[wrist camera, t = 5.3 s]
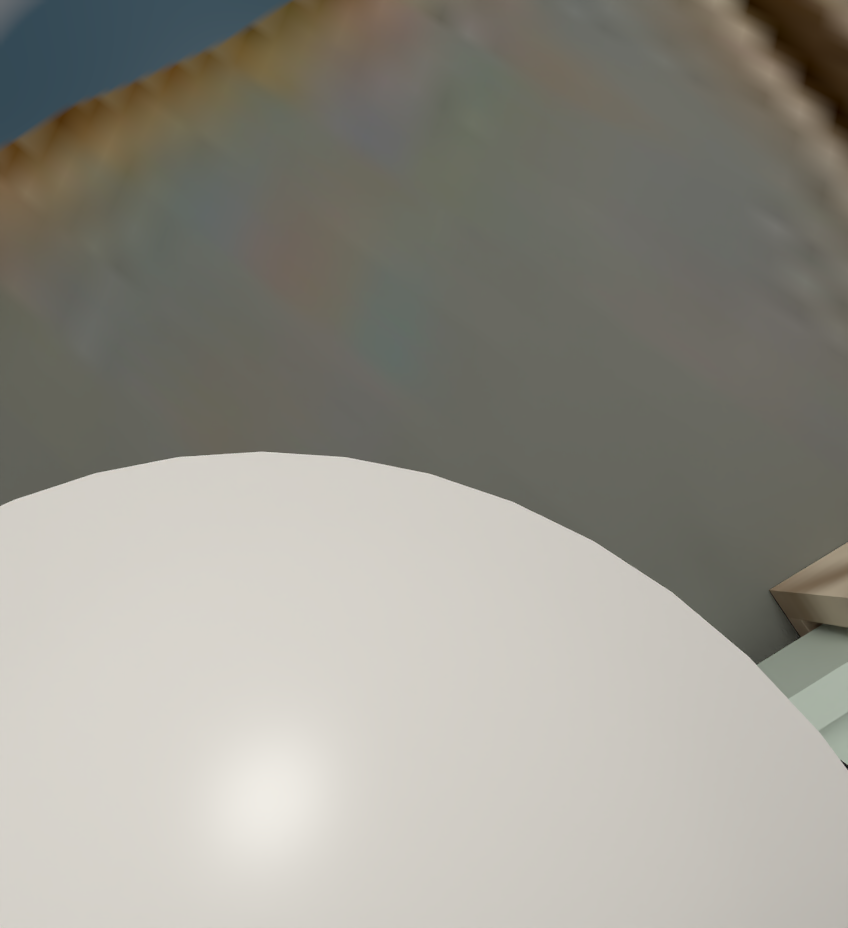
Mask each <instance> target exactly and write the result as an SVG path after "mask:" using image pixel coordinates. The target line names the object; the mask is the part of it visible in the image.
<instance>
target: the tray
mask: <svg viewBox="0 0 848 928" xmlns="http://www.w3.org/2000/svg"><path fill="white" fill-rule="evenodd" d="M757 666H758V667H759V668H760V669H761V671H762V672H763V673H764V674H765V675H766V676H767V677H768V678H769V679H770V680H771V681H772V682H773V683H774V684H775V685H776V687H777V688H778V689H779V690H780V691H781V692H782V693H783V694H784V695H785V696H786V697H787V698H788V699H789V700H790V701H791V703H792V704H793V705H794V706H795V707H796V708H797V709H798V710H799V711H800V712H801V713H802V714H803V715H804V716H805V717H806V719H807V720H808V721H809V722H810V723H811V724H812V725H813V726H814V727H815V728H816V729H817V730H818V731H819V732H820V734H821V735H822V736H823V738H824V739H825V740H826V742H827V743H828V744H829V746H830V747H831V748H832V750H833V751H834V752H835V754H836V755H837V756H838V758H839V759H840V760H842V761H843V762H844V763H846V764H847V765H848V628H847V627H841V626H835V625H830V624H822V625H820V626H819V627H817V628H816V629H814V630H812V631H811V632H809V633H807V634H806V635H804V636H803V637H801V638H799V639H798V640H796V641H795V642H793V643H791V644H790V645H788V646H786V647H785V648H783V649H782V650H780V651H778V652H777V653H775V654H774V655H772V656H770V657H769V658H767V659H765V660H764V661H762V662H761V663H759V664H757Z"/></svg>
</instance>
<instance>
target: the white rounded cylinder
mask: <svg viewBox="0 0 848 928" xmlns="http://www.w3.org/2000/svg"><path fill="white" fill-rule="evenodd" d="M0 928H848V770H847V768H846V767H845V766H844V764H843V763H842V762H841V760H840V759H839V758H838V756H837V755H836V754H835V752H834V751H833V750H832V748H831V747H830V746H829V744H828V743H827V742H826V740H825V739H824V738H823V736H822V735H821V734H820V732H819V731H818V730H817V729H816V728H815V727H814V726H813V725H812V724H811V723H810V722H809V721H808V720H807V719H806V717H805V716H804V715H803V714H802V713H801V712H800V711H799V710H798V709H797V708H796V707H795V706H794V705H793V704H792V703H791V701H790V700H789V699H788V698H787V697H786V696H785V695H784V694H783V693H782V692H781V691H780V690H779V689H778V688H777V687H776V685H775V684H774V683H773V682H772V681H771V680H770V679H769V678H768V677H767V676H766V675H765V674H764V673H763V672H762V671H761V669H760V668H759V667H758V666H757V665H756V664H755V663H754V662H753V661H752V660H751V659H750V658H749V657H748V656H747V655H746V654H745V653H744V652H742V651H741V650H740V649H739V648H738V647H736V646H735V645H734V644H733V643H732V642H730V641H729V640H728V639H727V638H726V637H725V636H723V635H722V634H721V633H720V632H719V631H717V630H716V629H715V628H714V627H713V626H711V625H710V624H709V623H708V622H707V621H706V620H704V619H703V618H702V617H701V616H700V615H698V614H697V613H696V612H695V611H694V610H692V609H691V608H690V607H689V606H688V605H687V604H685V603H684V602H683V601H682V600H681V599H679V598H678V597H677V596H676V595H675V594H673V593H672V592H671V591H669V590H667V589H666V588H664V587H663V586H661V585H660V584H658V583H657V582H655V581H654V580H652V579H651V578H649V577H648V576H646V575H645V574H643V573H641V572H640V571H638V570H637V569H635V568H634V567H632V566H631V565H629V564H628V563H626V562H625V561H623V560H622V559H620V558H618V557H617V556H615V555H614V554H612V553H611V552H609V551H608V550H606V549H605V548H603V547H602V546H600V545H599V544H597V543H596V542H594V541H592V540H590V539H588V538H586V537H584V536H582V535H580V534H578V533H576V532H573V531H571V530H569V529H567V528H565V527H563V526H561V525H559V524H557V523H555V522H553V521H551V520H549V519H547V518H545V517H543V516H541V515H539V514H537V513H535V512H532V511H530V510H528V509H526V508H524V507H522V506H520V505H518V504H516V503H514V502H512V501H509V500H506V499H503V498H500V497H497V496H494V495H491V494H488V493H485V492H482V491H479V490H476V489H473V488H470V487H467V486H464V485H461V484H458V483H455V482H452V481H449V480H446V479H444V478H441V477H438V476H435V475H432V474H428V473H423V472H418V471H413V470H408V469H403V468H398V467H393V466H388V465H383V464H377V463H372V462H367V461H362V460H357V459H352V458H347V457H334V456H319V455H304V454H288V453H273V452H251V453H235V454H220V455H204V456H189V457H177V458H172V459H166V460H161V461H156V462H151V463H146V464H141V465H135V466H130V467H125V468H120V469H115V470H110V471H105V472H100V473H95V474H92V475H89V476H86V477H83V478H80V479H76V480H73V481H70V482H67V483H64V484H61V485H58V486H55V487H52V488H49V489H46V490H43V491H40V492H37V493H34V494H31V495H28V496H25V497H22V498H19V499H15V500H13V501H11V502H8V503H6V504H4V505H2V506H0Z"/></svg>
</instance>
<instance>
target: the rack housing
mask: <svg viewBox="0 0 848 928" xmlns="http://www.w3.org/2000/svg"><path fill="white" fill-rule="evenodd" d="M770 592H771V593H772V595H773V596H774V598H775V599H776V601H777V602H778V604H779V605H780V607H781V608H782V610H783V611H784V613H785V614H786V616H787V617H788V619H789V620H790V622H791V623H792V625H793V626H794V628H795V629H796V631H797V632H798V634H799V635H800V636H801V637H803V636H804V635H806V634H807V633H809V632H811V631H812V630H814V629H816V628H817V627H819V626H820V625H822V624H830V625H835V626H841V627H847V628H848V542H847V543H846V544H844V545H842V546H841V547H839V548H837V549H836V550H834V551H833V552H831V553H829V554H828V555H826V556H824V557H823V558H821V559H819V560H818V561H816V562H814V563H813V564H811V565H810V566H808V567H806V568H805V569H803V570H801V571H800V572H798V573H796V574H795V575H793V576H791V577H790V578H788V579H787V580H785V581H783V582H782V583H780V584H778V585H777V586H775V587H773V588H772V589H770Z"/></svg>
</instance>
